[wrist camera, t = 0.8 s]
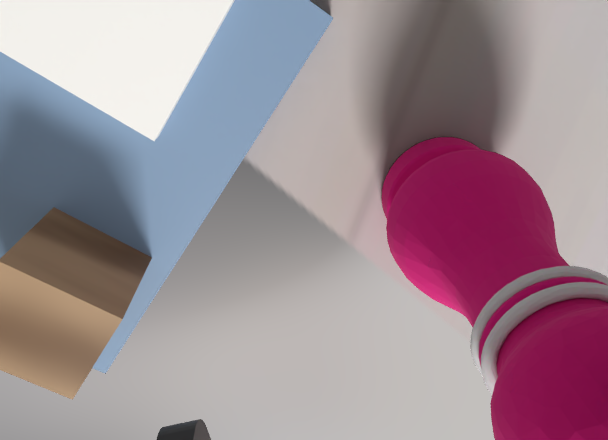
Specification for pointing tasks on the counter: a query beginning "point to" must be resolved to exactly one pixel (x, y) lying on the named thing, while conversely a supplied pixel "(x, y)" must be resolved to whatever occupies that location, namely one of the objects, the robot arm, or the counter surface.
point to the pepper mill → (504, 286)
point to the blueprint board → (138, 115)
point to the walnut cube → (63, 300)
